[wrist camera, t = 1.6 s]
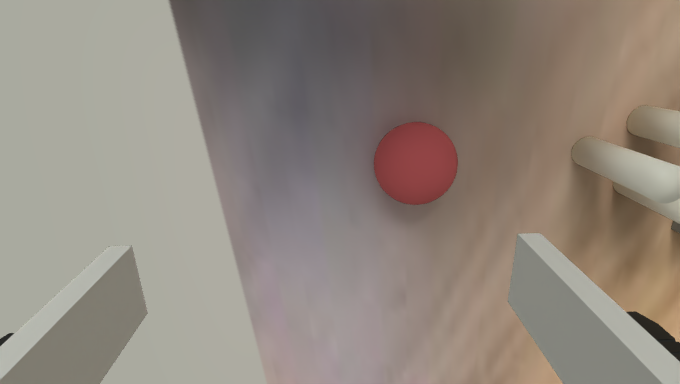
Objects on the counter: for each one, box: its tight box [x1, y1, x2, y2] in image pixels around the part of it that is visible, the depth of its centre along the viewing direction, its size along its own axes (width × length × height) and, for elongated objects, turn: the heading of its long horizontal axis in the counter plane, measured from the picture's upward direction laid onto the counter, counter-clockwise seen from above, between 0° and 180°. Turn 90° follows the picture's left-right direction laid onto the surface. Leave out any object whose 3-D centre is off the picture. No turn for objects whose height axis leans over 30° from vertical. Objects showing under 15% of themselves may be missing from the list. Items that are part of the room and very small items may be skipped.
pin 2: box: [613, 181, 680, 224], centre depth 29 cm, size 2×2×8 cm
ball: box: [374, 122, 458, 205], centre depth 29 cm, size 6×6×6 cm
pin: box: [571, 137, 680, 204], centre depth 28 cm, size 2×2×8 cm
